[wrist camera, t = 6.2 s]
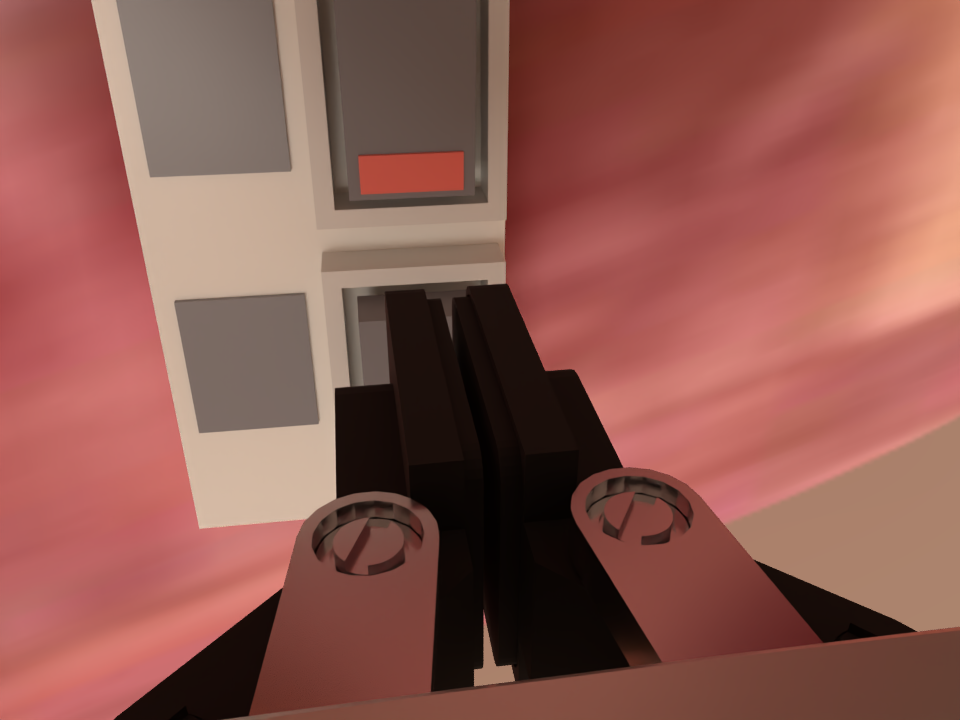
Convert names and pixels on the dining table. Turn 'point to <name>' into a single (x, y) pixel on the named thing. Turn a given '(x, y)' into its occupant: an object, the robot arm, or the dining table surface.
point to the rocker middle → (408, 96)
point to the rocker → (376, 333)
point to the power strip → (276, 231)
